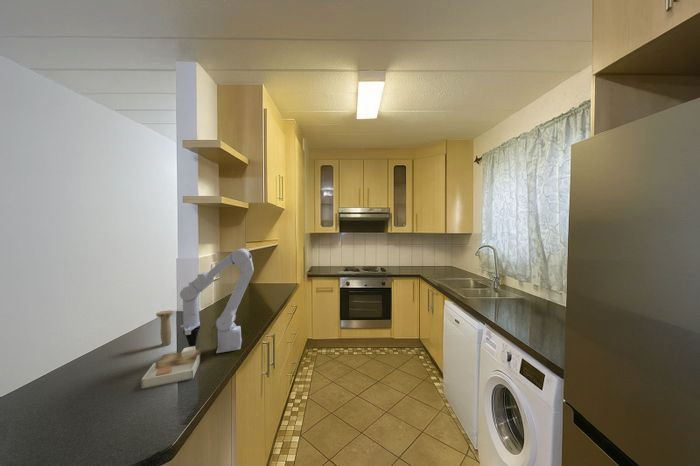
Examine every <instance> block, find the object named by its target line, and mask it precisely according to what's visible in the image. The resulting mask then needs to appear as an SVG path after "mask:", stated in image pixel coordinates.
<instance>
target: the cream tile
mask: <svg viewBox="0 0 700 466" xmlns="http://www.w3.org/2000/svg"><path fill="white" fill-rule="evenodd" d="M195 351H196V345H195V346H189V347H184V348H183V349H182V351H180V352H181V354H182V357H188V356H193V355H194V353H195Z"/></svg>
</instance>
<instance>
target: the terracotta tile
mask: <svg viewBox="0 0 700 466" xmlns="http://www.w3.org/2000/svg"><path fill="white" fill-rule="evenodd" d="M157 369H158V368H157ZM171 373H172V366H170V367H165V368H161V369H158V371H157V373H156V376H160V375H165V374H171Z"/></svg>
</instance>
